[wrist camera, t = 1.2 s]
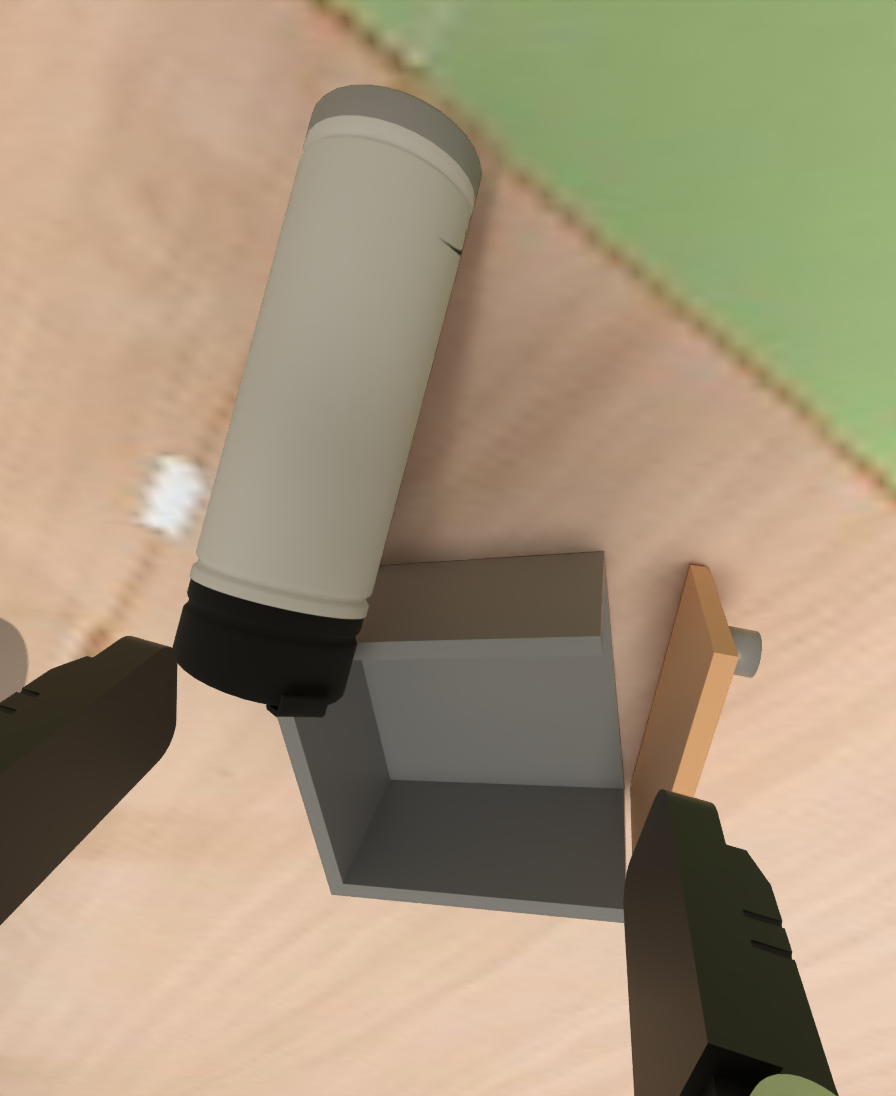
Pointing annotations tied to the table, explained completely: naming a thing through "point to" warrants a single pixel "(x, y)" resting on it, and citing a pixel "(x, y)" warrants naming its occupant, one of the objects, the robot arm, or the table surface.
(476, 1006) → the table surface
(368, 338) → the travel mug
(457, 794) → the storage box
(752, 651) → the side door
